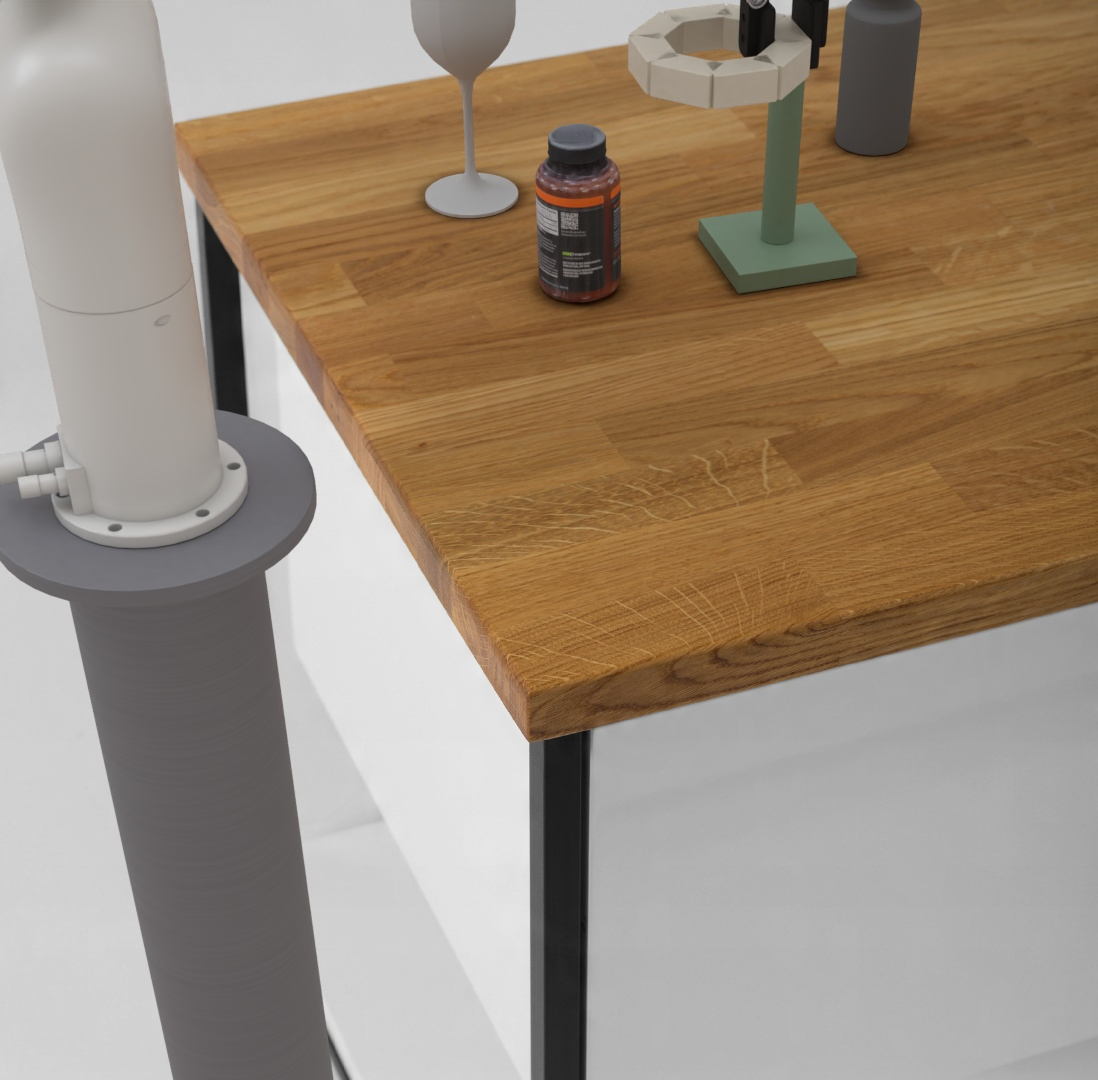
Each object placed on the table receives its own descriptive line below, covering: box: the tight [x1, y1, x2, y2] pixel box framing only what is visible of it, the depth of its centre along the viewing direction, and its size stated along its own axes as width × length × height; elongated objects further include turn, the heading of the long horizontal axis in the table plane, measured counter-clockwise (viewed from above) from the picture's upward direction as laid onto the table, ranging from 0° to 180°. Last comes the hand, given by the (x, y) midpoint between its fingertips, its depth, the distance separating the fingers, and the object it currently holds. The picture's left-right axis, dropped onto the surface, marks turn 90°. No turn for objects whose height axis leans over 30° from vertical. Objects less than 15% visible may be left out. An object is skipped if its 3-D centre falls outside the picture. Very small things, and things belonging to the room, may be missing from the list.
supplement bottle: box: [535, 123, 622, 303], centre depth 143 cm, size 6×6×11 cm
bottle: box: [834, 0, 923, 156], centre depth 159 cm, size 6×6×15 cm
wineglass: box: [410, 0, 519, 219], centre depth 150 cm, size 8×8×21 cm
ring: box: [627, 3, 812, 111], centre depth 120 cm, size 10×10×2 cm
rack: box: [697, 79, 858, 294], centre depth 145 cm, size 9×9×14 cm
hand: (781, 60), depth 121 cm, fingers closed on ring, 2 cm apart
